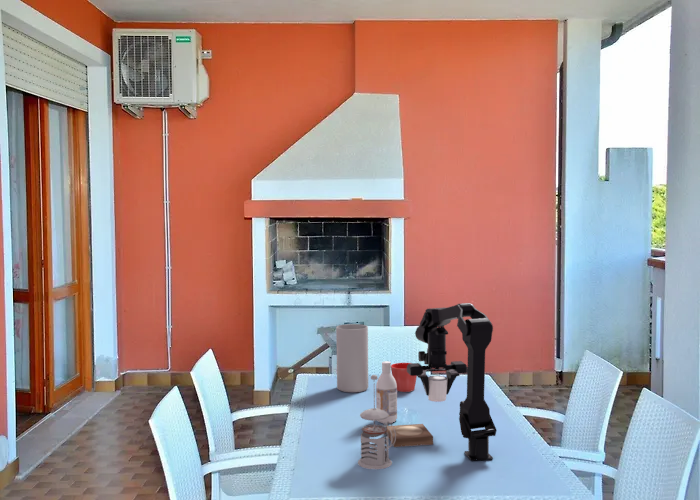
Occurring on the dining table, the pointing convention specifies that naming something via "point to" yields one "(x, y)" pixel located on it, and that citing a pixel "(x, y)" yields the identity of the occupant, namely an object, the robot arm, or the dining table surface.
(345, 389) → the cylinder vase
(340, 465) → the dining table surface
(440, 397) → the white cup
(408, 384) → the flower pot
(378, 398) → the bath foam
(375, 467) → the french press
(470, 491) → the dining table surface
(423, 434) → the walnut plinth
